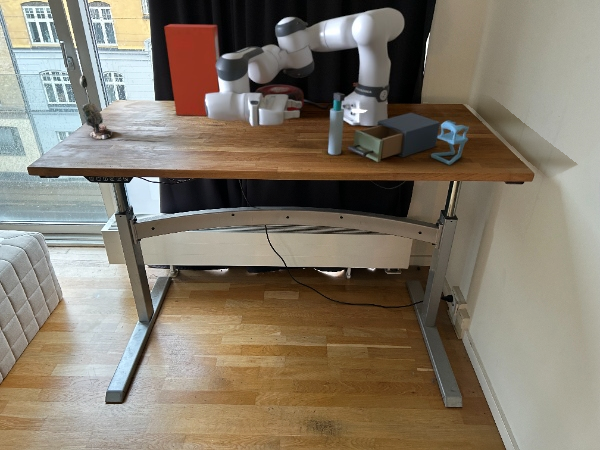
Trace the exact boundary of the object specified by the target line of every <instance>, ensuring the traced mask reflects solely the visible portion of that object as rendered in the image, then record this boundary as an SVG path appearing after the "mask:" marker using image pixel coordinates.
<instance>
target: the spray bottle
mask: <svg viewBox="0 0 600 450" xmlns="http://www.w3.org/2000/svg"><path fill="white" fill-rule="evenodd" d="M345 97H346V94H344V93H341V92H334V93H333V102H334V105H333V107H332V108H330V110H329V130H328V147H327V148H328V149H327V152H328V154H329V155H333V156H339V155H341V154H342V146H343V132H344V131H343V130H344V120H343V119H344V109H341V105H342V101H344V99H345Z"/></svg>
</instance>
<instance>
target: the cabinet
mask: <svg viewBox="0 0 600 450" xmlns="http://www.w3.org/2000/svg"><path fill="white" fill-rule="evenodd" d="M379 125H384V126H386V127H389V128H392V129H394V130H397V131H399V132H402V133H405V134H404V140H403V147H402V152H401V153H398V154H395V155H397V156H398V157H401V158H404V157H407V156H411V155H414V154H417V153H420V152H423V151H426V150H429V149H432V148H435V147H436V146H437V141H438V138H437V137H438V135H439V132H440V127H441V122H440V121H437V120H434V119H431V118H428V117H425V116H423V115H419V114H417V113H414V112H408V113H404V114H400V115H397V116H393V117H388V119H385V120H381V121H378V124H377V126H379Z"/></svg>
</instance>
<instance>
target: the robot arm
mask: <svg viewBox="0 0 600 450" xmlns="http://www.w3.org/2000/svg"><path fill="white" fill-rule="evenodd" d="M307 26H309V23H308V22H306V21H304V20H302V19H301V18H299V17H296V16H289V17H284V18H283V19H281V20H280V21H279V22H278V23H276V25H275V27H274V28H275V29H274V31H275V37H276V38H277V42H278V45H276V44H267V45H264V46H262V47H259V46H247V47H244V48H242V49H239V50H236V51H233V52H230V53H224V54H222V55H220V56H219V57H220V58H219V59H218V60H217V62H216V70H217V75H218V80H219V87H220V91H219V92H217V93H208V94H206V96H205V109H206V114H207V116H206V117H208V119H211V120H215V121H220V122H238V121H241V122H245V123H249V124H250V125H251V127H259V126H279V125H282V124H283V123H284V120H289V119H294V118H295V119H296V118H298V119H299V118H300V115H301V114H300V113H301V112H300V111H299V110H294V111H286V110H287V107H296V108H301V106H302V102H301V101H294V100H288V95H285V94H272V95H266V96H265V98H264V97H263V95H262V93H255V92H251V87H250V81H251V80H252V81H253V82H255V83H256V84H261V85H265V84H268V83H270V82H271V81H273V80H274V79H275V78H276V76H277V75H278V74H279V73H280V71H282V70H283V71H282V72H283V73H284V74H285V75H288V76H290V77H291V78H295V79H301V78H305V77H308V76H309V75H311V74H312V73H313V72H314V70H315V60H314V58H313V53H312V51H313V52H318V53H329V52H336V51H343V50H349V49H350V50H351V49H356V48H357V49H358V54H359V55H358V56H359V71H358V73H359V74H358V81H357V82H354V83H352V84H353V85H352V87H355V88H354V90H353V91H352V92H351V93H349V94H348V95H346V96H345V99H344V101H342V105H341V109H344V119H343V122H344V121H345V122H346V123H348V124H349V125H351V126H366V127H375V126H377V124H378V121H381V120H385V119H389V116H388V115H389V114H388V95H389V92H390V83H389V81H390V74H391V65H392V63H391V60H390V57H389V54H388V42H391V41H393V40H396V38H397V37H399V36H400V34H402V32H403V30H404V28H405V18H404V16H403V14H402V13H401V11H399V10H397V9H395V8H392V7H384V8H379V9H372V10H367V11H365V12H359V13H354V14H350V15H345V16H340V17H335V18H331V19H327V20H322V21H319V22H318V23H315V24H313V25H312V26H309V27H307ZM304 103H308V104H310V105H313V106H315V107H317V108H320V109H323V110H327V109H328V108H329V107H330V106H334V101H333V102H329V103H327V105H326V106H325V105H324V106H322V105H321V104H319V103H317V102H314V101H311V100H308V99H305V98H304Z"/></svg>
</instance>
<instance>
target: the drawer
mask: <svg viewBox="0 0 600 450" xmlns="http://www.w3.org/2000/svg"><path fill="white" fill-rule="evenodd" d="M404 134H405V133H402V132H399V131H397V130H394V129H392V128H389V127H386V126H384V125H379V126H370V127H368V128H364V129H361V130H359V129H355V130H354V136H353V145H351V144H349V145H348V146H347V149H348V150H349V151H351V152H353V153H355V154H357V155H359V156H362V157H364V158H369V159H371V160H373V161H375V162H377V163H378V162H381V161H382V160H381V159H385V158H388V157H391V156H395V155H396V154H398V153H401V152H402V147H403V140H404Z"/></svg>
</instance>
